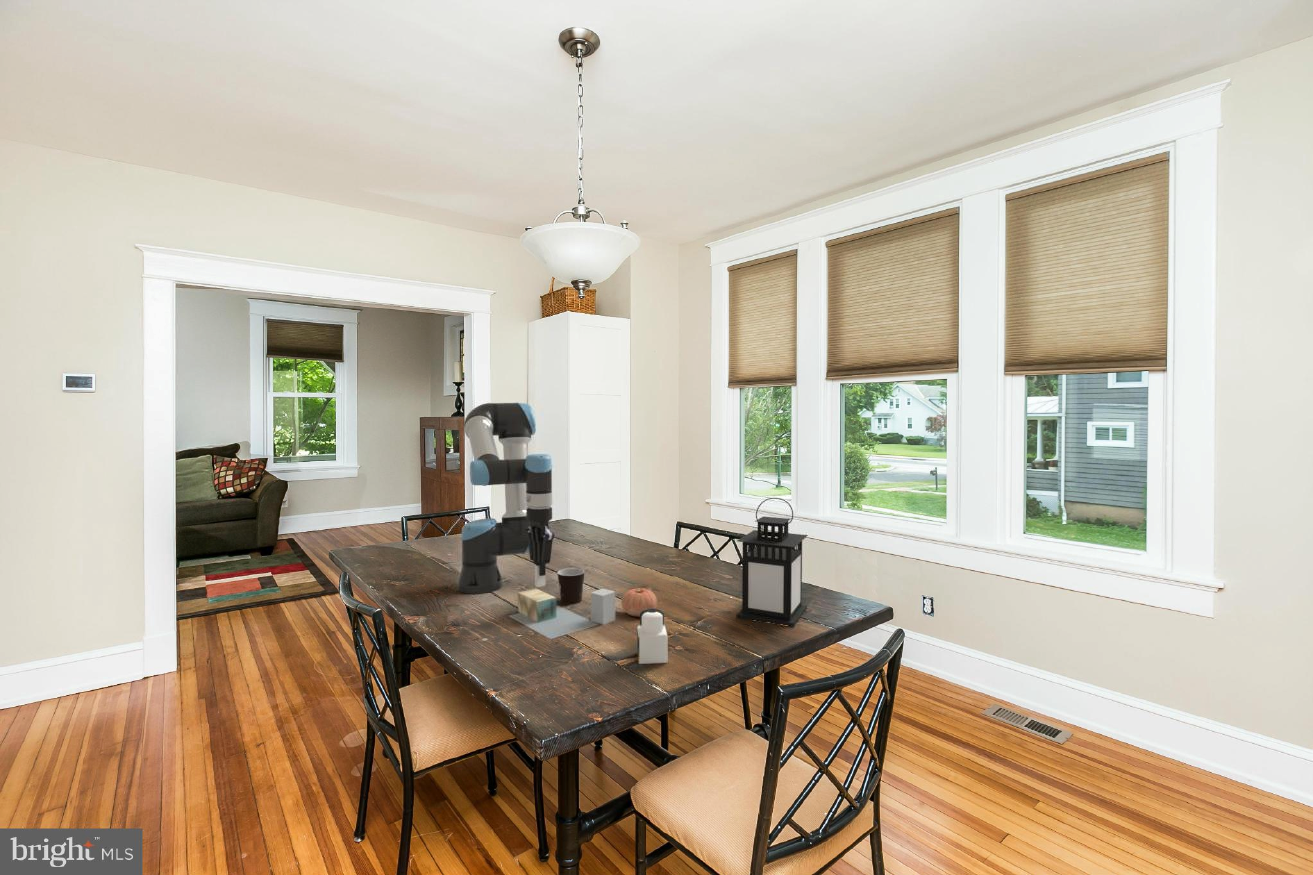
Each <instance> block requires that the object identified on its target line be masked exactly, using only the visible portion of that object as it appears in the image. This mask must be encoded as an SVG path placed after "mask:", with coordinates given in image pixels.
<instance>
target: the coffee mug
mask: <svg viewBox="0 0 1313 875" xmlns="http://www.w3.org/2000/svg"><path fill="white" fill-rule="evenodd" d="M585 572H586V571H585V570H584V569H581V568H575V567H572V568H564V569H560V570H558V571H557V579H558V580H557V581H558V587H559V596H560V602H561V604H565V605H576V604H580V603H581V602H582V601H583V600H582V599H583V592H584V591H583V590H584V582H585V581H584V580H585Z"/></svg>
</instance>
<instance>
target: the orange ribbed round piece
mask: <svg viewBox="0 0 1313 875" xmlns="http://www.w3.org/2000/svg"><path fill="white" fill-rule="evenodd" d="M657 606H658V598H657V596H656V595H655V593H654V592H653V590H652V591H651V590H650V589H646V588H642V587H639V588H638V587H637V588H632V589H629V590H628V591H625V593H624V594H623V595H622V597H621V607H622V609H623V611H624V612H625V613H626V614H627V615H629V616H630V617H637V618H640V613H641V612H642V611H643V610H646V609H657Z"/></svg>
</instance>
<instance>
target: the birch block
mask: <svg viewBox="0 0 1313 875" xmlns="http://www.w3.org/2000/svg"><path fill="white" fill-rule="evenodd" d="M517 594H518V595H517V602H518V608H517V609H518V612H517V613H522V614H524V615H526V616H527V617H529V618H531V619H533V620H535V621H537V622H542V621H546V620H549V619H553V618H557V615H556V605H557V597H556V596H553V595H552V594H549V593H547V592H544V591H542V590H540V589H538V588H536V587H535V588H532V589H527V590H524V591H523V590H522V591H518V592H517Z"/></svg>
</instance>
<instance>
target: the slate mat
mask: <svg viewBox="0 0 1313 875" xmlns="http://www.w3.org/2000/svg"><path fill="white" fill-rule="evenodd" d="M556 615H557V618H553V619H549V620H546V621H542V622H537V621H535V620H533V619H531V618H529V617H527V616H526V615H524V614H522V613H520V612H517V613H513V614H509V615H508V617H509V618H511V619H513V620H515V621H517V622H519V623H520V624H523V625H524V626H525V627H527V628H530V629H531V630H533V631H534V632H536V633H539V634H541V635H542V636H545V637H546V638H548V640H549V639H550V640H553V639H555V638H559V637H562V636H566V635H568V634H572V633H573V634H574V633H576V632H579V631H583V630H585V629H590V628H592V627H596V626H599V625H600V624H599V623H596V622H593V621H591V619H588V618H585V617H584V616H581V615H579V614H577V613H575V612H572V611H570V610H568V609H566V608H564V607H562V606H560V605H558V604H556Z"/></svg>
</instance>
